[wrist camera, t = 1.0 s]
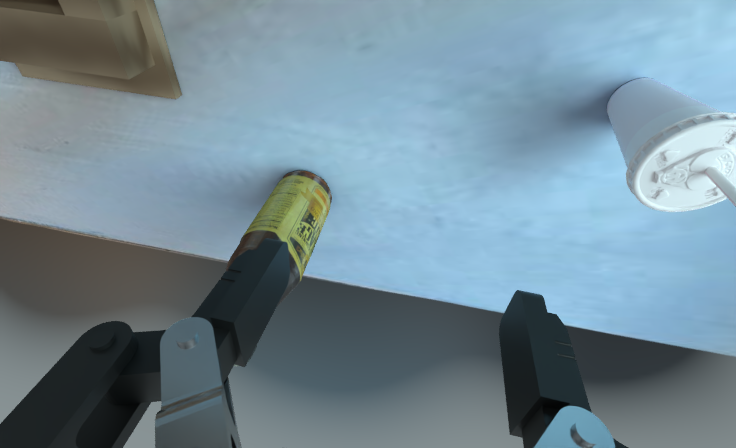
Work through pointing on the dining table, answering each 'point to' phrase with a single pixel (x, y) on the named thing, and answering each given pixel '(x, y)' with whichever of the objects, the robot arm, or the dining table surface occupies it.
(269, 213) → the sauce bottle
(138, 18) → the socket holder
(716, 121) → the smoothie
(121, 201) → the dining table surface
